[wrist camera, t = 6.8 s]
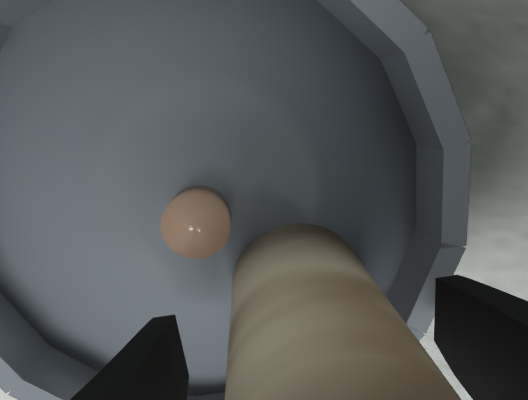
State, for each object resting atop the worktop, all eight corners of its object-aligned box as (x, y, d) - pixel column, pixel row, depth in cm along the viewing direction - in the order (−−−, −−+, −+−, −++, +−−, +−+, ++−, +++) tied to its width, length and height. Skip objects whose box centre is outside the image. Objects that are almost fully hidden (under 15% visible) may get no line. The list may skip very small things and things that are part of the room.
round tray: (512, 165, 12) (580, 181, 9) (246, 444, 15) (247, 509, 12) (129, -200, 9) (85, -316, 6) (-117, 249, 11) (-212, 288, 9)
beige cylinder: (386, 273, 12) (523, 438, 6) (303, 358, 12) (352, 577, 7) (289, 196, 11) (341, 306, 5) (206, 294, 12) (167, 485, 6)
